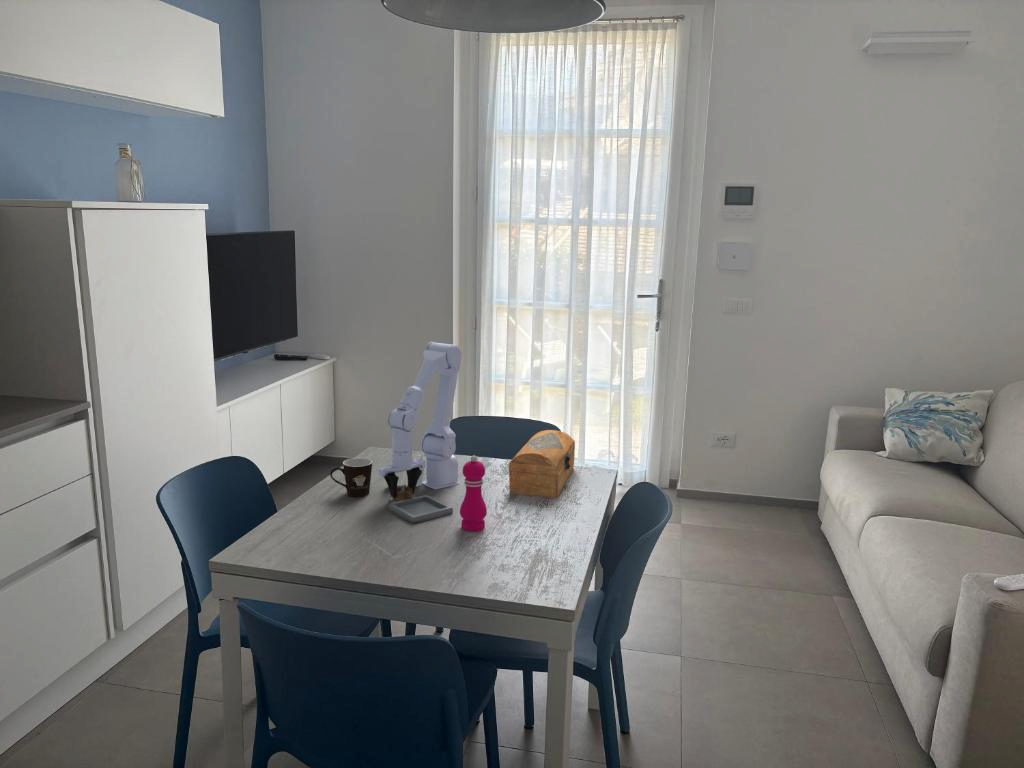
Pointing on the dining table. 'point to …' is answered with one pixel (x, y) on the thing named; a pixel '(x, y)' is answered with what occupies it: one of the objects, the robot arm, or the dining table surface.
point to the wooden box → (542, 465)
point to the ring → (403, 494)
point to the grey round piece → (402, 488)
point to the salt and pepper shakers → (419, 457)
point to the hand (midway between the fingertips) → (402, 494)
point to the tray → (420, 509)
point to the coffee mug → (356, 476)
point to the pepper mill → (473, 497)
